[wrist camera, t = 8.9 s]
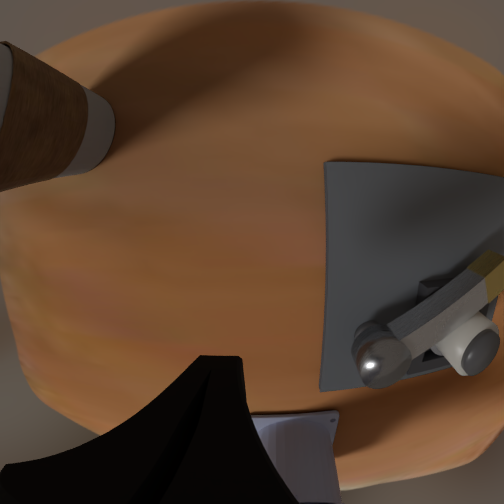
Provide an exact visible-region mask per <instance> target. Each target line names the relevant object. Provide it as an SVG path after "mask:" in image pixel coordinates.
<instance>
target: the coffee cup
mask: <svg viewBox="0 0 504 504" xmlns="http://www.w3.org/2000/svg"><path fill="white" fill-rule="evenodd" d="M114 130H115V117H114V113H113V110H112V108H111V106H110V104H109V103H108V102H107V101H106V100H105V99H104V98H102V97H101V96H99V95H97V94H96V93H94V92H92V91H91V90H89V89H87V88H85V87H84V86H82V85H80V84H79V83H78V82H76V81H74V80H73V79H71V78H69V77H68V76H66V75H64V74H63V73H61V72H59V71H58V70H56V69H54V68H53V67H51V66H49V65H48V64H46V63H44V62H43V61H41V60H39V59H37V58H36V57H34V56H32V55H30V54H28V53H27V52H25V51H23V50H21V49H20V48H18V47H16V46H14V45H12V44H10V43H8V42H7V41H3V42H0V192H2V191H5V190H9V189H13V188H16V187H20V186H24V185H28V184H32V183H37V182H41V181H46V180H50V179H52V178H58V177H64V176H71V175H77V174H83V173H85V172H88V171H90V170H91V169H93V168H95V167H96V166H97V165H98V164H99V163H100V162H101V161H102V159H103V158H104V157H105V155H106V153H107V152H108V150H109V148H110V145H111V143H112V140H113V136H114Z"/></svg>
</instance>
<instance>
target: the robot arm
mask: <svg viewBox="0 0 504 504" xmlns="http://www.w3.org/2000/svg"><path fill="white" fill-rule="evenodd" d="M338 420H339V412H338V411H336V410H333V411H324V412H313V413H301V414H283V415H250V412H249V409H248V405H247V402H246V391H245V381H244V372H243V362H242V359H241V358H240V357H239V356H207V355H200V356H199V357H198V358H197V359H196V360H195V361H194V362H193V363H192V364H191V365H190V366H189V367H188V368H187V369H186V370H185V371H184V372H183V373H182V374H181V375H180V376H179V377H178V378H177V379H176V380H175V381H174V382H173V383H171V384H170V385H169V386H168V387H167V388H166V389H165V390H164V391H163V392H162V393H161V394H160V395H158V396H157V397H156V398H155V399H154V400H153V401H151V402H150V403H149V404H148V405H146V406H145V407H144V408H143V409H141V410H140V411H139V412H138V413H136V414H135V415H134V416H132V417H131V418H129V419H128V420H126V421H125V422H123V423H122V424H120V425H118V426H117V427H115V428H114V429H112V430H110V431H109V432H107V433H105V434H103V435H101V436H99V437H97V438H95V439H93V440H91V441H89V442H87V443H84V444H82V445H81V446H78V447H76V448H73V449H70V450H67V451H65V452H62V453H59V454H56V455H52V456H49V457H45V458H41V459H37V460H32V461H26V462H20V463H13V464H6V465H5V466H4V468H3V469H2V470H1V472H0V504H344V503H342V500H341V494H340V488H339V482H338V476H337V470H336V464H335V458H334V453H333V447H332V445H333V441H334V437H335V433H336V429H337V424H338Z"/></svg>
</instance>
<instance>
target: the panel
mask: <svg viewBox="0 0 504 504" xmlns="http://www.w3.org/2000/svg"><path fill="white" fill-rule="evenodd" d="M324 180H325V207H326V283H325V310H324V329H323V344H322V357H321V368H320V379H319V389H320V392H326V391H336V390H344V389H351V388H358V387H365V386H366V385H365V384H364V383H363V382H362V379H361V377H360V375H359V372H358V370H357V367H356V365H355V363H354V360H353V358H352V355H351V347H352V344H353V342H354V340H355V338H356V337H357V336H358V335H359V334H360V333H361V332H362V331H363V330H365V329H366V328H368V327H370V326H372V325H376V324H386V325H387V324H388V323H390V322H392V321H393V320H395V319H396V318H398V317H400V316H401V315H403V314H404V313H406V312H407V311H409V310H411V309H412V308H414V307H415V306H417V305H418V304H420V303H421V302H422V301H424V300H425V299H427V298H428V297H430V296H431V295H432V294H434V293H435V292H437V291H438V290H439V289H441V288H442V287H444V286H445V285H446V284H448V283H449V282H450V281H452V280H453V279H454V278H455V277H457V276H458V275H459V274H461V273H462V272H463V271H464V270H466V269H467V267H468V266H469V265H470V264H471V263H473V262H474V261H475V260H476V259H477V258H479V257H480V256H481V255H482V254H483V253H485V252H486V251H487V250H491V251H493V252H496V253H498V254H500V255H503V256H504V177H499V176H494V175H488V174H482V173H475V172H469V171H462V170H454V169H446V168H437V167H427V166H416V165H403V164H387V163H365V162H324ZM497 298H498V295H497V296H496V297H495V298H494V299H493V300H492V301H491V302H490V303H487V304H486V305H485V306H484V307H483V308H482V309H480V310H479V312H480V313H482V314H483V315H484V316H485V317H487V318H488V319H489V320H491V321H492V318H493V314H494V310H495V306H496V302H497ZM449 367H453V366H452V365H451V364H450V363H449V361H448V360H447V359H446V358H445V357H444V356H441V355H437V354H435V353H434V352H433V351H432V350H431V349H430V348H429V349H428V350H426V351H425V352H423V353H422V354H420V355H419V356H417V357H416V358H414V359H413V360H412V361H411V365H410V367H409V369H408V371H407V372H406V374H405V375H404V376H403V377H402V378H401V379H400V380H403V379H407V378H412V377H416V376H420V375H424V374H428V373H432V372H435V371H439V370H443V369H446V368H449Z"/></svg>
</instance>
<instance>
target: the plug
mask: <svg viewBox="0 0 504 504" xmlns="http://www.w3.org/2000/svg"><path fill="white" fill-rule="evenodd" d="M499 344H500V337H499V330H498V327H497V325H496V324H494V323H493V322H492V321H491V320H489V319H488V318H487V317H485V316H484V315H483V314H482V313H480V312H479V311H478V312H477V313H476V314H475V315H473V316H472V317H471V318H470V319H468V320H467V321H466V322H465V323H463V324H462V325H461V326H460V327H458V328H457V329H456V330H454V331H453V332H452V333H450V334H449V335H448V336H446V337H445V338H444V339H442V340H441V341H439V342H438V343H437V344H435V345H434V346H432V347H431V348H430V349H431V350H432V351H433V352H434V353H435V354H437V355H441V356H444V357H445V358H446V359H447V360H448V361H449V363H450V364H451V365H452V366H453V367H454V369H455V370H456V371H457V372H458V373H459V374H460V375H462V376H467V375H469V376H474V375H477V374H479V373H480V372H482V371H483V370H484V369H485V368H486V367H487V366H488V365H489V364H490V363H491V361H492V360H493V359H494V357H495V355H496V353H497V351H498V348H499Z"/></svg>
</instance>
